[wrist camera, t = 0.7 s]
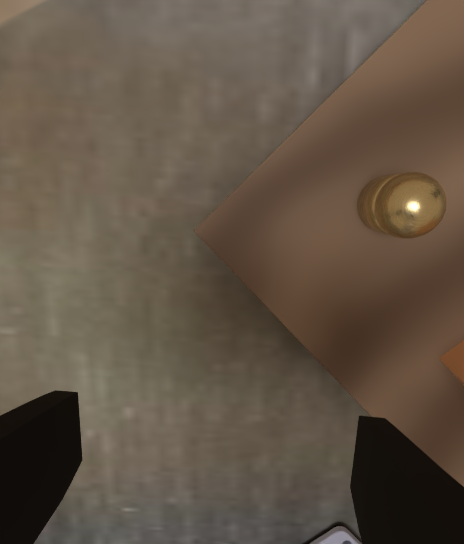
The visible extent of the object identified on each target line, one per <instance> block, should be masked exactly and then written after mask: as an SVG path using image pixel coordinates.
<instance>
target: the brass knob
mask: <svg viewBox="0 0 464 544" xmlns="http://www.w3.org/2000/svg"><path fill="white" fill-rule="evenodd" d="M446 206H447V199H446V194H445V191H444V189H443V187H442V186H441V185H440V183H439V182H438V181H437V180H435V179H434V178H433V177H431V176H429V175H426V174H424V173H419V172H407V173H400V174H394V175H387V176H381V177H378V178H376V179H374V180H372V181H370V182H369V183H368V184H367V185H366V186H365V187H364V188H363V189H362V191H361V193H360V195H359V198H358V202H357V211H358V215H359V217H360V219H361V221H362V222H363V223H364V224H365V225H366V226H367V227H369V228H370V229H372V230H375V231H378V232H381V233H384V234H387V235H390V236H393V237H397V238H402V239H412V238H417V237H421V236H423V235H425V234H427V233H429V232H430V231H432V230H433V229H434V228H435V227H437V225H438V224H439V223H440V222H441V220H442V218H443V216H444V214H445V211H446Z"/></svg>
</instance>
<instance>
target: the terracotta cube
mask: <svg viewBox="0 0 464 544" xmlns="http://www.w3.org/2000/svg"><path fill="white" fill-rule="evenodd" d="M439 359H440V360H441V361H442V362H443V363H444V365H445V366H446V367H447V368H448V369H449V370H450V371H451V372H452V373H453V374H454V376H455V377H456V378H457V379H458V380H459V381H460V382H461V383H462V384H463V385H464V340H463V341H462V342H461V343H459V344H458V345H456V346H455V347H454V348H452V349H451V350H450V351H448V352H447V353H445V354H444V355H443V356H441V357H440V358H439Z"/></svg>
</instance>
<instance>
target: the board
mask: <svg viewBox="0 0 464 544" xmlns="http://www.w3.org/2000/svg"><path fill="white" fill-rule="evenodd" d="M407 172H419V173H424V174H426V175H429V176H431V177H433V178H434V179H435V180H437V181H438V182H439V183H440V185H441V186H442V187H443V189H444V191H445V194H446V199H447V206H446V211H445V214H444V216H443V218H442V220H441V222H440V223H439V224H438V225H437V227H435V228H434V229H433V230H432V231H430V232H429V233H427V234H425V235H423V236H421V237H417V238H412V239H402V238H397V237H393V236H390V235H387V234H384V233H381V232H378V231H375V230H372V229H370V228H369V227H367V226H366V225H365V224H364V223H363V222H362V221H361V219H360V217H359V215H358V211H357V202H358V198H359V195H360V193H361V191H362V189H363V188H364V187H365V186H366V185H367V184H368V183H369V182H370V181H372V180H374V179H376V178H378V177H381V176H387V175H394V174H400V173H407ZM194 232H195V233H196V234H197V235H198V236H199V237H200V238H201V239H202V240H203V241H204V242H205V243H206V244H207V245H208V246H209V247H210V248H211V249H212V250H213V251H214V252H215V253H216V255H217V256H218V257H219V258H220V259H221V260H222V261H223V262H224V263H225V264H226V265H227V266H228V267H229V268H230V269H231V270H232V271H233V272H234V273H235V274H236V275H237V276H238V278H239V279H240V280H241V281H242V282H243V283H244V284H245V285H246V286H247V287H248V288H249V289H250V290H251V291H252V292H253V293H254V294H255V295H256V296H257V297H258V298H259V299H260V301H261V302H262V303H263V304H264V305H265V306H266V307H267V308H268V309H269V310H270V311H271V312H272V313H273V314H274V315H275V316H276V317H277V318H278V319H279V320H280V321H281V322H282V324H283V325H284V326H285V327H286V328H287V329H288V330H289V331H290V332H291V333H292V334H293V335H294V336H295V337H296V338H297V339H298V340H299V341H300V342H301V343H302V344H303V345H304V347H305V348H306V349H307V350H308V351H309V352H310V353H311V354H312V355H313V356H314V357H315V358H316V359H317V360H318V361H319V362H320V363H321V364H322V365H323V366H324V367H325V368H326V370H327V371H328V372H329V373H330V374H331V375H332V376H333V377H334V378H335V379H336V380H337V381H338V382H339V383H340V384H341V385H342V386H343V387H344V388H345V389H346V390H347V391H348V393H349V394H350V395H351V396H352V397H353V398H354V399H355V400H356V401H357V402H358V403H359V404H360V405H361V406H362V407H363V408H364V409H365V410H366V411H367V412H368V413H369V414H370V416H371V417H380V418H386V419H387V420H388V421H389V422H390V423H392V424H393V425H394V426H395V427H396V428H397V429H399V430H400V431H401V432H402V433H403V434H404V435H405V436H406V437H408V438H409V439H410V440H411V441H412V442H413V443H414V444H415V445H416V446H418V447H419V448H420V449H421V450H422V451H423V452H424V453H425V454H426V455H428V456H429V457H430V458H431V459H432V460H433V461H434V462H435V463H437V464H438V465H439V466H440V467H441V468H442V469H443V470H445V471H446V472H447V473H448V474H449V475H450V476H452V477H453V478H454V479H455V480H456V481H457V482H459V483H460V484H461V485H462V486H463V487H464V385H463V384H462V383H461V382H460V381H459V380H458V379H457V378H456V377H455V376H454V374H453V373H452V372H451V371H450V370H449V369H448V368H447V367H446V366H445V365H444V363H443V362H442V361H441V360H440V359H439V358H440V357H441V356H443V355H444V354H445V353H447V352H448V351H450V350H451V349H452V348H454V347H455V346H456V345H458V344H459V343H461V342H462V341H463V340H464V0H427V1H426V2H425V3H424V4H423V5H422V6H421V7H420V8H419V9H418V10H417V11H416V12H415V13H414V14H413V15H412V16H411V17H410V18H409V19H408V20H407V21H406V22H405V23H404V24H403V25H402V26H401V27H400V28H399V29H398V30H397V31H396V32H395V33H394V34H393V35H392V36H391V37H390V38H388V39H387V40H386V41H385V42H384V43H383V44H382V45H381V46H380V47H379V48H378V49H377V50H376V51H375V52H374V53H373V54H372V55H371V56H370V57H369V58H368V59H367V60H366V61H365V62H364V63H363V64H362V65H361V66H360V67H359V68H358V69H357V70H356V71H355V72H354V73H353V74H352V75H351V76H350V77H349V78H348V79H347V80H346V81H345V82H344V83H343V84H342V85H341V86H340V87H339V88H338V89H337V90H336V91H335V92H334V93H333V94H332V95H331V96H330V97H329V98H328V99H327V100H326V101H325V102H324V103H322V104H321V105H320V106H319V107H318V108H317V109H316V110H315V111H314V112H313V113H312V114H311V115H310V116H309V117H308V118H307V119H306V120H305V121H304V122H303V123H302V124H301V125H300V126H299V127H298V128H297V129H296V130H295V131H294V132H293V133H292V134H291V135H290V136H289V137H288V138H287V139H286V140H285V141H284V142H283V143H282V144H281V145H280V146H279V147H278V148H277V149H276V150H275V151H274V152H273V153H272V154H271V155H270V156H269V157H268V158H267V159H266V160H265V161H264V162H263V163H262V164H261V165H260V166H259V167H257V168H256V169H255V170H254V171H253V172H252V173H251V174H250V175H249V176H248V177H247V178H246V179H245V180H244V181H243V182H242V183H241V184H240V185H239V186H238V187H237V188H236V189H235V190H234V191H233V192H232V193H231V194H230V195H229V196H228V197H227V198H226V199H225V200H224V201H223V202H222V203H221V204H220V205H219V206H218V207H217V208H216V209H215V210H214V211H213V212H212V213H211V214H210V215H209V216H208V217H207V218H206V219H205V220H204V221H203V222H202V223H201V224H200V225H199V226H198V227H197V228H196V229H195V230H194Z"/></svg>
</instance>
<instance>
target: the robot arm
mask: <svg viewBox="0 0 464 544" xmlns="http://www.w3.org/2000/svg"><path fill="white" fill-rule="evenodd" d="M81 462H82V448H81V433H80V418H79V404H78V392H68V391H53V392H50V393H48V394H45V395H43V396H41V397H39V398H36V399H34V400H32V401H30V402H28V403H26V404H23V405H21V406H19V407H17V408H15V409H13V410H11V411H9V412H7V413H5V414H3V415H1V416H0V544H33V543H34V542H35V540H36V539H37V537H38V536H39V534H40V533H41V531H42V530H43V528H44V527H45V525H46V524H47V522H48V521H49V519H50V518H51V516H52V515H53V513H54V512H55V510H56V508H57V507H58V505H59V504H60V502H61V501H62V499H63V497H64V495H65V493H66V491H67V489H68V488H69V486H70V484H71V482H72V480H73V478H74V476H75V474H76V472H77V470H78V468H79V466H80V464H81ZM350 488H351V493H352V498H353V503H354V509H355V514H356V518H357V523H358V528H359V532H360V536H361V539H362V542H363V544H464V487H463V486H462V485H461V484H460V483H459V482H457V481H456V480H455V479H454V478H453V477H452V476H450V475H449V474H448V473H447V472H446V471H445V470H443V469H442V468H441V467H440V466H439V465H438V464H437V463H435V462H434V461H433V460H432V459H431V458H430V457H429V456H428V455H426V454H425V453H424V452H423V451H422V450H421V449H420V448H419V447H418V446H416V445H415V444H414V443H413V442H412V441H411V440H410V439H409V438H408V437H406V436H405V435H404V434H403V433H402V432H401V431H400V430H399V429H397V428H396V427H395V426H394V425H393V424H392V423H390V422H389V421H388V420H387V419H386V418H380V417H368V416H359V421H358V429H357V437H356V445H355V453H354V461H353V469H352V477H351V485H350ZM310 544H362V543H361V542H360V541H359V540H358V539H357V538H356V537H355V536H354V535H353V534H352V533H351V532H350V531H349V530H348V529H346V528H345V527H343V526H337V527H334V528H333V529H331V530H330V531H328V532H327V533H325V534H324V535H322V536H321V537H319V538H317V539H316V540H314V541H313V542H311V543H310Z"/></svg>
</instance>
